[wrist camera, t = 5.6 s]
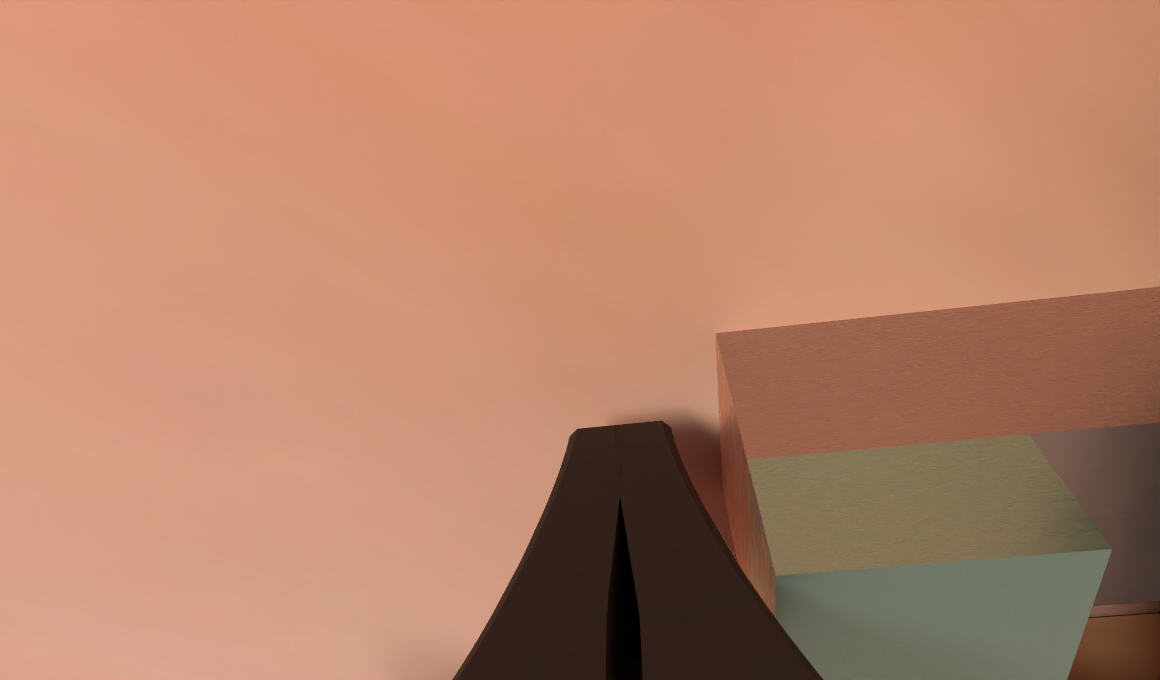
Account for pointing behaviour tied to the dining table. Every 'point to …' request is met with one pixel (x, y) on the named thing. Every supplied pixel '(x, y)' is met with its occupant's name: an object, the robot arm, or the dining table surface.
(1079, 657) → the wooden bridge block
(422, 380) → the dining table surface
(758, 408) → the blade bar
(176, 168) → the dining table surface
